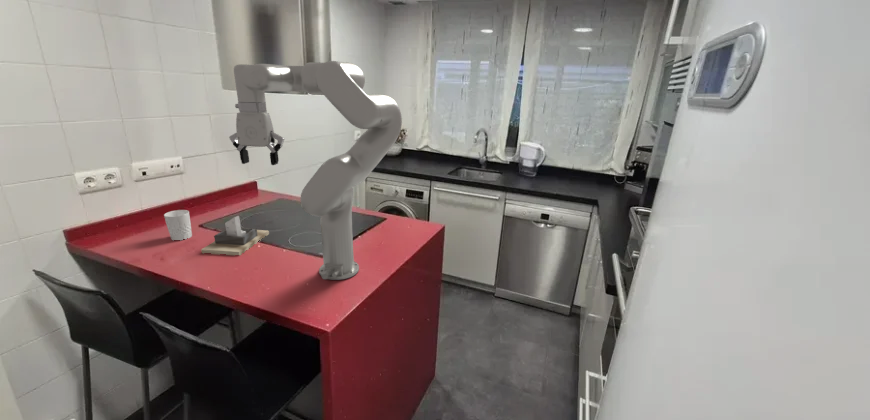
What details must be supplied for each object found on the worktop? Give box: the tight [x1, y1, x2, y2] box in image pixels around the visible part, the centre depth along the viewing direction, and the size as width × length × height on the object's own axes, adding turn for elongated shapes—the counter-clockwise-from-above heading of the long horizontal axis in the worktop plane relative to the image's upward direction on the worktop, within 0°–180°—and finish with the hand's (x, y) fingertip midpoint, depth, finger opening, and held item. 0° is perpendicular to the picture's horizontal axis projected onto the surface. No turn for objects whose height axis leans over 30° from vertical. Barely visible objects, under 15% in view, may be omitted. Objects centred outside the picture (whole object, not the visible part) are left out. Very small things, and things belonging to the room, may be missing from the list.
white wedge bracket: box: [224, 215, 246, 236], centre depth 136 cm, size 4×10×9 cm
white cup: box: [163, 209, 193, 241], centre depth 140 cm, size 8×8×10 cm
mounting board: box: [200, 227, 270, 257], centre depth 138 cm, size 20×14×4 cm
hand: (260, 163), depth 117 cm, fingers open, 9 cm apart
